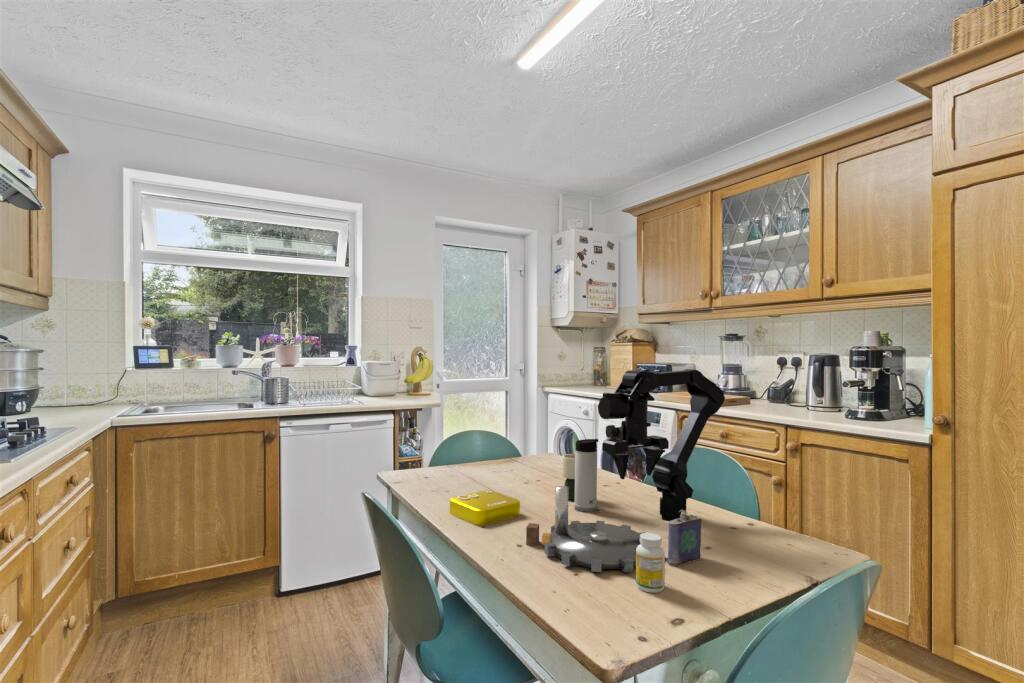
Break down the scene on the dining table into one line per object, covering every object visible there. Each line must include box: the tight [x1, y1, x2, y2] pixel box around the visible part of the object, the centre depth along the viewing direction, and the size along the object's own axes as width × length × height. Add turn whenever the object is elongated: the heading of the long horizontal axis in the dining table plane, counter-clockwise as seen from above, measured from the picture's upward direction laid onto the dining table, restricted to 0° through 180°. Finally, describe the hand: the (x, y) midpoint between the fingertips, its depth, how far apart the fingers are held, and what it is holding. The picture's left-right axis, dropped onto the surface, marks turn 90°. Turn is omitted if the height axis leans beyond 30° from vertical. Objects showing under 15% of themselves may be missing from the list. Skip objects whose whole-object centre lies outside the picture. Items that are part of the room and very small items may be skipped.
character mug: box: [561, 453, 575, 500], centre depth 155 cm, size 11×7×13 cm, turn 30°
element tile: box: [448, 489, 521, 527], centre depth 140 cm, size 15×15×5 cm
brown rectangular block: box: [525, 522, 540, 547], centre depth 119 cm, size 2×3×4 cm
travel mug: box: [574, 438, 599, 513], centre depth 145 cm, size 6×7×20 cm
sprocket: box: [541, 485, 647, 573], centre depth 114 cm, size 25×25×12 cm
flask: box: [667, 510, 702, 567], centre depth 110 cm, size 9×3×11 cm, turn 121°
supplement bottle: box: [635, 532, 666, 594], centre depth 97 cm, size 5×5×10 cm
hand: (635, 477), depth 134 cm, fingers open, 9 cm apart
